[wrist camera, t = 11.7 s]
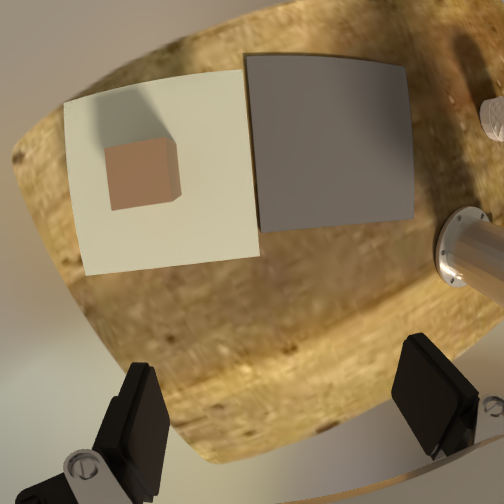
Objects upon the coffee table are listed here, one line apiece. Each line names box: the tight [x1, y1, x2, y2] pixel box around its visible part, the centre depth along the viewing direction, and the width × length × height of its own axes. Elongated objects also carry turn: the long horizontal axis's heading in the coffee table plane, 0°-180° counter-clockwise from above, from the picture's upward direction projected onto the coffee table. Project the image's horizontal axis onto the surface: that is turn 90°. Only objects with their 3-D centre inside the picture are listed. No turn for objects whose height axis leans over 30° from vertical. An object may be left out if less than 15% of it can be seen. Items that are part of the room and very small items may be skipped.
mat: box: [246, 55, 414, 233], centre depth 32 cm, size 20×20×1 cm
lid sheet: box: [64, 70, 260, 276], centre depth 20 cm, size 15×15×6 cm
